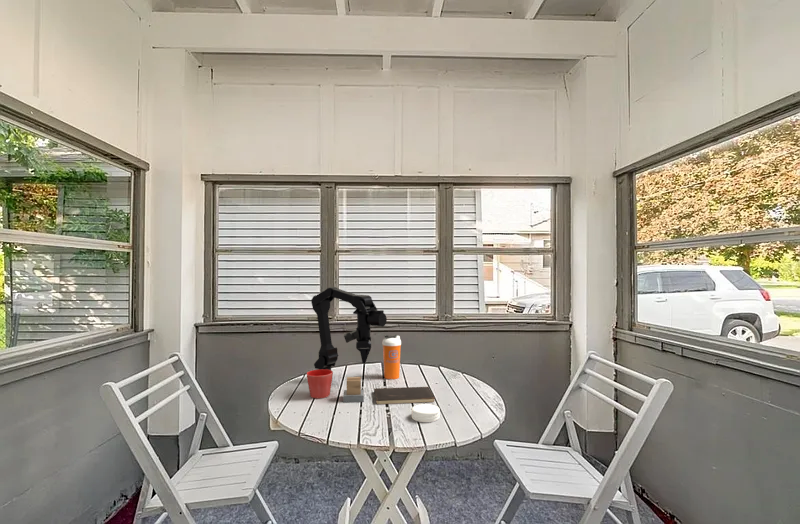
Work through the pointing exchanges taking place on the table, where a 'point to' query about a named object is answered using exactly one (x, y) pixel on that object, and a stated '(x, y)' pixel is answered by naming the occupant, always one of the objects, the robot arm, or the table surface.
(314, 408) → the table surface
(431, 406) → the coaster
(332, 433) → the table surface
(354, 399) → the grey box
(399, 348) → the shaker bottle
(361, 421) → the table surface
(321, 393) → the flower pot
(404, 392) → the hardcover book
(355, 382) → the tan block
